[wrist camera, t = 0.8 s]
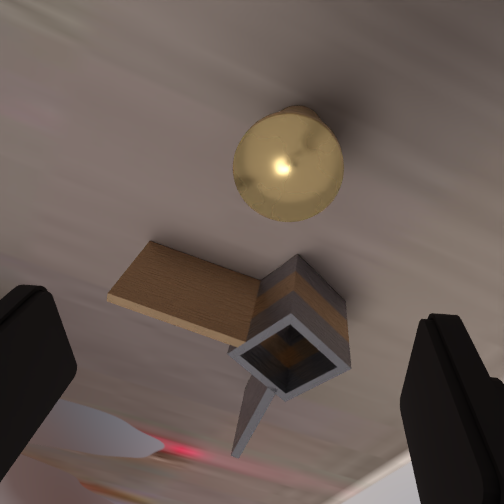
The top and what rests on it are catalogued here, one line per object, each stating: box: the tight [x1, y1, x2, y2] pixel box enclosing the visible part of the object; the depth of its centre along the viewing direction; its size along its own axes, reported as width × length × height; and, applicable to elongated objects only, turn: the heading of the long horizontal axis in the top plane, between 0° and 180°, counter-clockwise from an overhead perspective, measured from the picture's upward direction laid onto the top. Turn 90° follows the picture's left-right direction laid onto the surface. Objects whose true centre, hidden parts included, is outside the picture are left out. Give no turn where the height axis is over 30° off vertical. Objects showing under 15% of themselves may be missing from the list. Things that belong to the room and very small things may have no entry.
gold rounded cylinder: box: [233, 105, 344, 222], centre depth 24 cm, size 6×6×8 cm
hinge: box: [107, 241, 351, 458], centre depth 33 cm, size 16×20×8 cm
